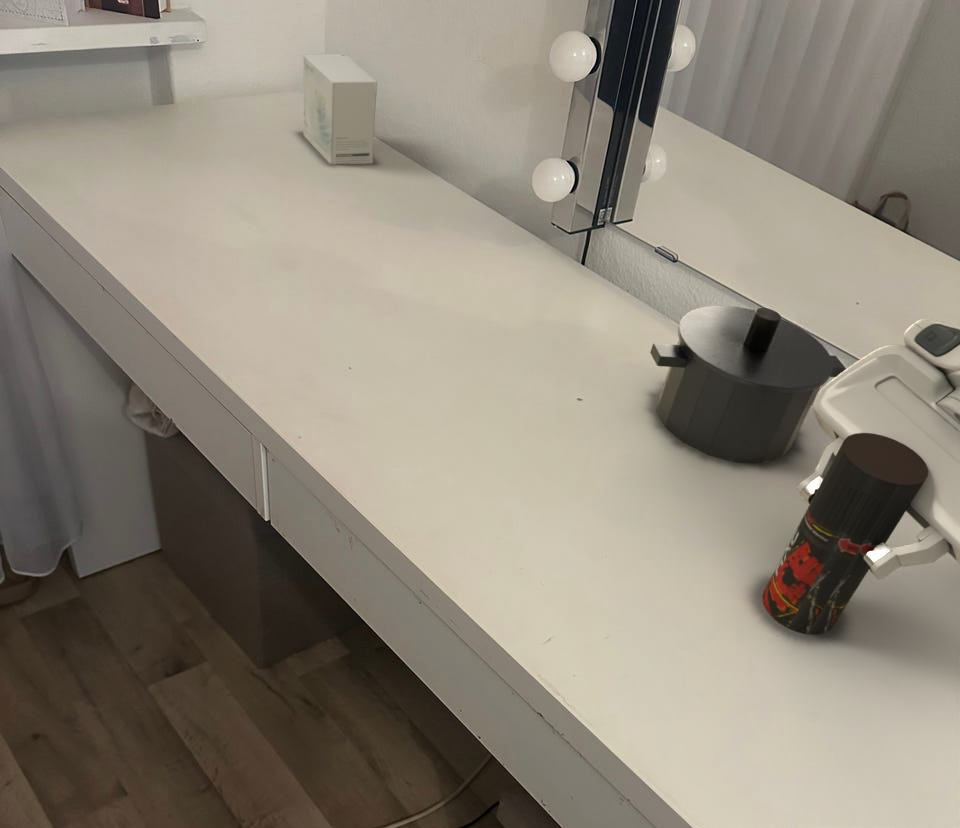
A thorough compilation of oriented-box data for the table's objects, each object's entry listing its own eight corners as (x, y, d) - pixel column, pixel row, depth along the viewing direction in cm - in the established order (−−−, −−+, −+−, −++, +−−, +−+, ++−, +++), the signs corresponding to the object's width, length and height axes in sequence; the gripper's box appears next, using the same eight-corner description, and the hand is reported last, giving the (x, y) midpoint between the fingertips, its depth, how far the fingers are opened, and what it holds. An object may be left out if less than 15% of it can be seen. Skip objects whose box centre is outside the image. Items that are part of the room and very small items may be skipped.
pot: (615, 384, 93) (638, 305, 87) (782, 393, 97) (815, 319, 91) (652, 464, 84) (681, 383, 78) (835, 471, 88) (876, 394, 82)
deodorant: (840, 643, 71) (940, 490, 60) (767, 634, 70) (855, 478, 59) (822, 591, 75) (912, 439, 64) (753, 582, 74) (833, 427, 63)
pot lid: (656, 310, 88) (669, 269, 85) (791, 321, 91) (808, 282, 88) (704, 394, 78) (721, 351, 75) (854, 402, 81) (875, 361, 78)
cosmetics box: (300, 138, 125) (301, 51, 118) (344, 138, 128) (348, 53, 120) (328, 169, 119) (332, 79, 112) (373, 168, 122) (379, 80, 115)
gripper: (1126, 524, 59) (936, 650, 62) (921, 358, 71) (772, 471, 74) (1126, 475, 54) (921, 615, 57) (906, 306, 66) (748, 429, 70)
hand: (835, 532), depth 66 cm, fingers open, 7 cm apart
